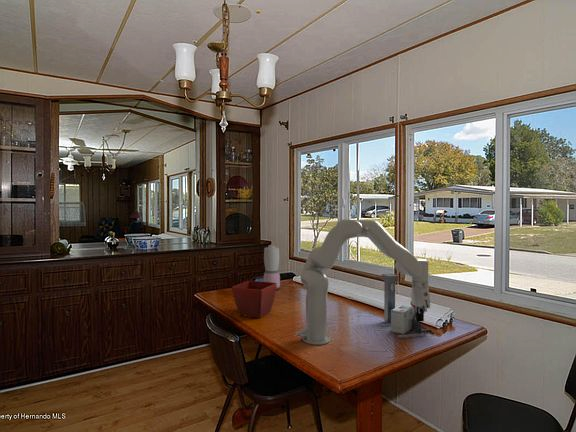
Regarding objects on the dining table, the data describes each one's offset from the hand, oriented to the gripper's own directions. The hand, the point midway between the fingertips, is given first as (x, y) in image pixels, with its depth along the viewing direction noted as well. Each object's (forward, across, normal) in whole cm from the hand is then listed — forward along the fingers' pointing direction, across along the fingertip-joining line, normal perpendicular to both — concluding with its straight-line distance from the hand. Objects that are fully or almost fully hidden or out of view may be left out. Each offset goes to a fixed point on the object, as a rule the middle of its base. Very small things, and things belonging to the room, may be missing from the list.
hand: (419, 320), depth 173 cm
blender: (+4, +101, +60) cm, 117 cm away
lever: (+4, +5, 0) cm, 6 cm away
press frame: (+4, +3, +10) cm, 11 cm away
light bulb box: (+4, +1, +9) cm, 10 cm away
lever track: (+4, +2, 0) cm, 4 cm away
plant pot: (+4, +40, +78) cm, 88 cm away
